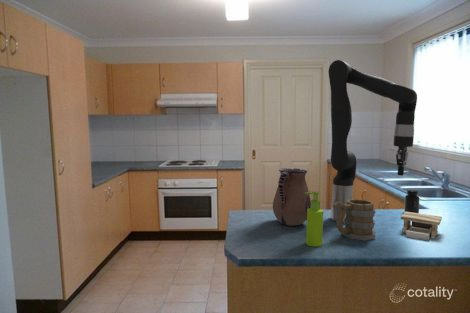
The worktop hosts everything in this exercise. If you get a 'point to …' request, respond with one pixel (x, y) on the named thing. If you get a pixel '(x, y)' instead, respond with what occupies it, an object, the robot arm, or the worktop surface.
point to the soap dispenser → (314, 222)
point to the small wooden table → (421, 221)
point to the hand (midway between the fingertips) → (400, 175)
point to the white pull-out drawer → (418, 233)
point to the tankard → (356, 219)
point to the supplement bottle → (412, 201)
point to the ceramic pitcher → (291, 197)
